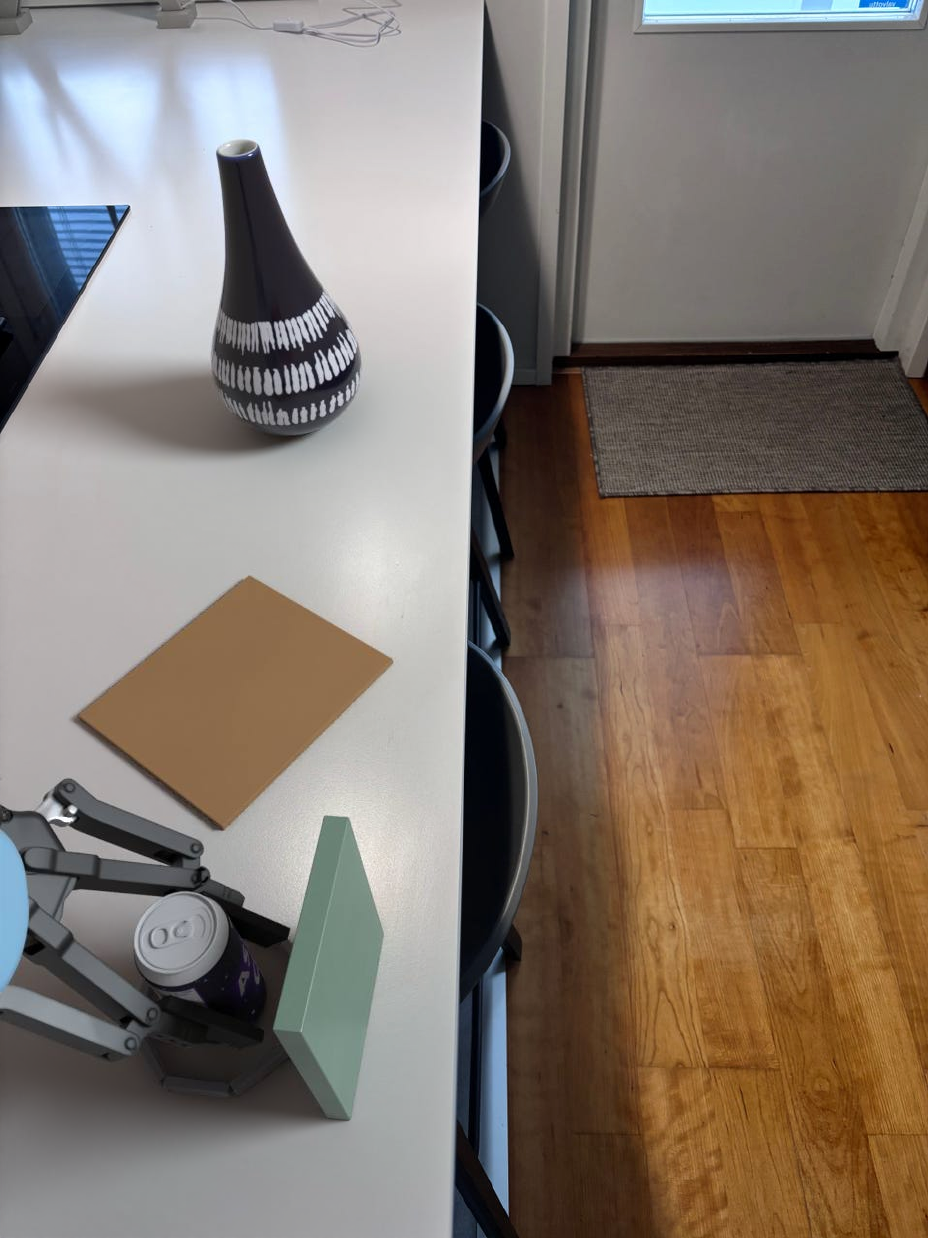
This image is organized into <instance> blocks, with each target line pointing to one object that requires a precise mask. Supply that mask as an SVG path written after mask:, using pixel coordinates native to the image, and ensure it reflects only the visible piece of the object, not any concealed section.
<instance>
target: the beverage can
mask: <svg viewBox="0 0 928 1238" xmlns="http://www.w3.org/2000/svg"><path fill="white" fill-rule="evenodd" d="M133 959H134V960H133V961H134V964H135V967H136V970H137V971H138V973H139V974H140V976H141V977H142V978H143V980H144V979H145V980H146V982H147V983H148V984H149V985H150V986H151V988H152V989H153V990H154V991H155V994H156V995H157V996H158V997H159V999H161V998H164V997H166V996H169V995H172V996H175V997H179V998H182V999H184V1000H187V1001H190V1002H192V1003H195V1004H198V1005H200V1006H203V1007H206V1008H209V1009H211V1010H214V1011H217V1012H219V1013H222V1014H225V1015H227V1016H230V1017H233V1018H235V1019H238V1020H241V1021H244V1022H246V1023H249V1024H252V1025H254V1026H256V1024H257V1023H258V1022H259V1020H260V1019H261V1017H262V1014H263V1012H264V1010H265V1006H266V1002H267V996H268V991H267V983H266V980H265V977H264V975H263V973H262V971H261V970H260V968H259V966H258V964H257V963H256V961H255V960H254V957H253V956H252V955H251V953H250V950H249V949H248V947H247V946H246V944H245V942H244V941H243V939H242V938H241V937H240V935H239V934H238V932H237V930H236V929H235V927H234V925H233V923H232V922H231V920H230V918H229V917H228V915H227V913H226V912H225V910H224V909H223V907H222V906H221V905H220V904H219V903H217V902H216V901H215V900H213V899H211V898H209V897H206V896H203V895H201V894H198V893H194V892H188V891H185V892H176V893H172V894H169V895H167V896H165V897H160V898H159V899H158V900H156V901H155V902H153V903H152V904H151V905H150V906H149V907H148V908H147V909H146V910H145V911H144V912H143V914H142V915H141V917H140V918H139V921H138V922H137V924H136V927H135V929H134V934H133ZM204 1044H209V1045H223V1044H222V1043H220V1042H217V1041H214V1040H211V1039H208V1038H205V1042H204Z"/></svg>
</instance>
